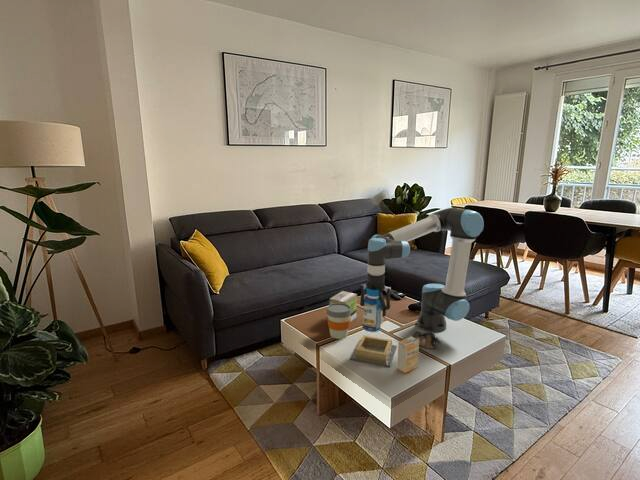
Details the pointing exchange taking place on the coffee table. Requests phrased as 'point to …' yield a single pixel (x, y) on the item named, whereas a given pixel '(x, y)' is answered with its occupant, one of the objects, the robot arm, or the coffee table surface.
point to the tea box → (346, 301)
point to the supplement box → (408, 354)
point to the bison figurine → (426, 339)
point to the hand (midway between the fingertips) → (374, 321)
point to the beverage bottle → (372, 311)
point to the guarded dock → (374, 351)
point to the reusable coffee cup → (339, 320)
